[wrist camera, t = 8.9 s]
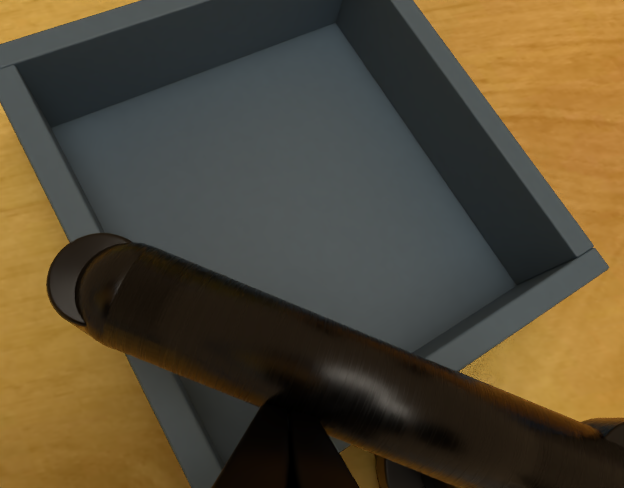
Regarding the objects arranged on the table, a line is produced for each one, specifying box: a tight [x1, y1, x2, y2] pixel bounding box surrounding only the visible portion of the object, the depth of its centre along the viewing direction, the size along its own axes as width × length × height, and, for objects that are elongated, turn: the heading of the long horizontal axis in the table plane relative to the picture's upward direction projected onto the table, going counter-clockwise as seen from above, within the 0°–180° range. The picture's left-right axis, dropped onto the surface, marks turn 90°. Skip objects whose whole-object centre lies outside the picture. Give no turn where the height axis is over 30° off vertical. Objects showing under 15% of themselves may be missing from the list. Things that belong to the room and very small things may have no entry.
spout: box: [46, 233, 624, 488], centre depth 10 cm, size 12×3×3 cm, turn 69°
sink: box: [0, 0, 609, 488], centre depth 17 cm, size 15×14×4 cm
